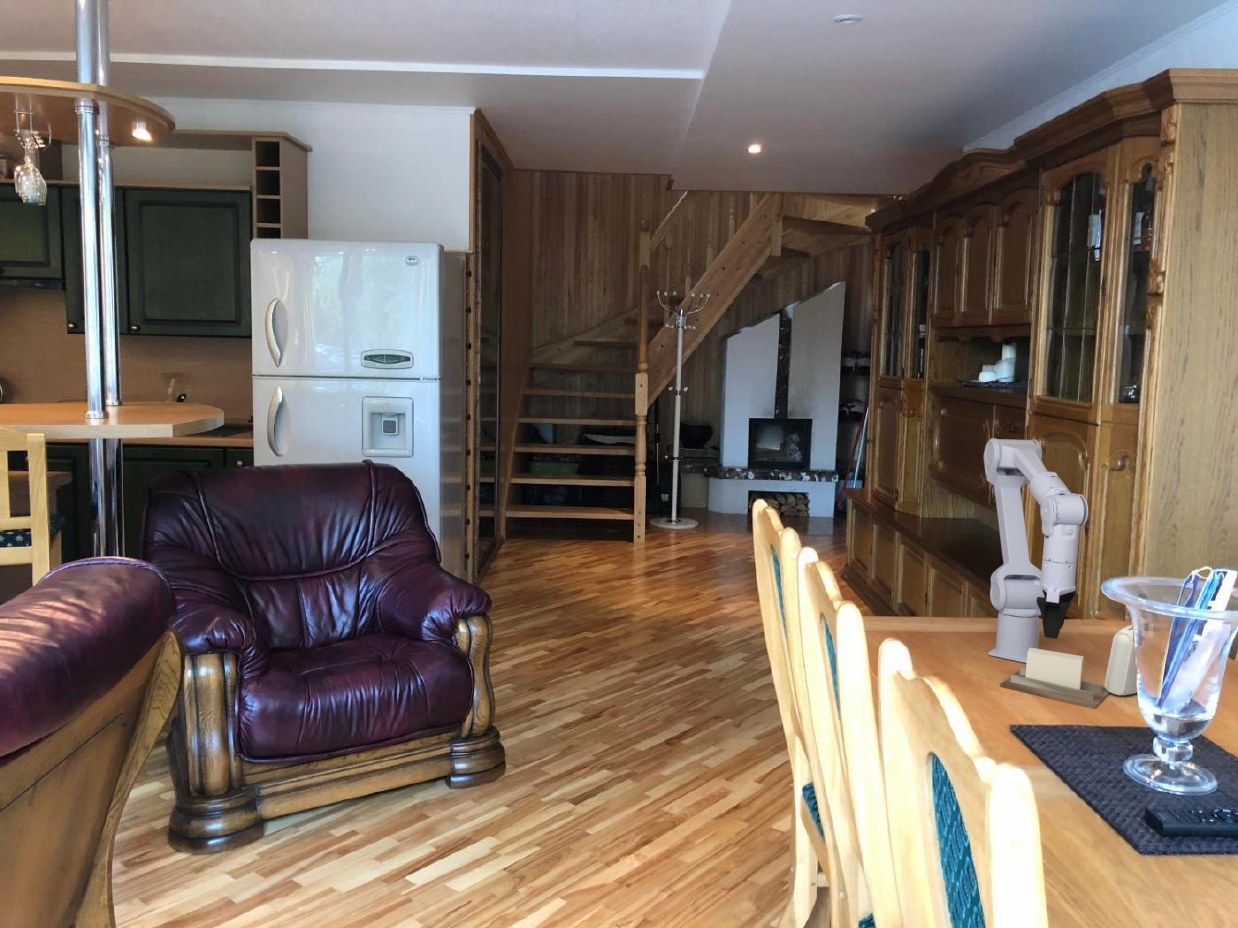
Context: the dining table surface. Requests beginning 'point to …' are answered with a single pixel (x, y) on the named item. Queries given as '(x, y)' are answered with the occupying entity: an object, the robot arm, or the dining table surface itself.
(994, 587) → the robot arm
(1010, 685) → the track board
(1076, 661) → the cream rectangular block
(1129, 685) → the cream rounded upright block
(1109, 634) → the dining table surface
